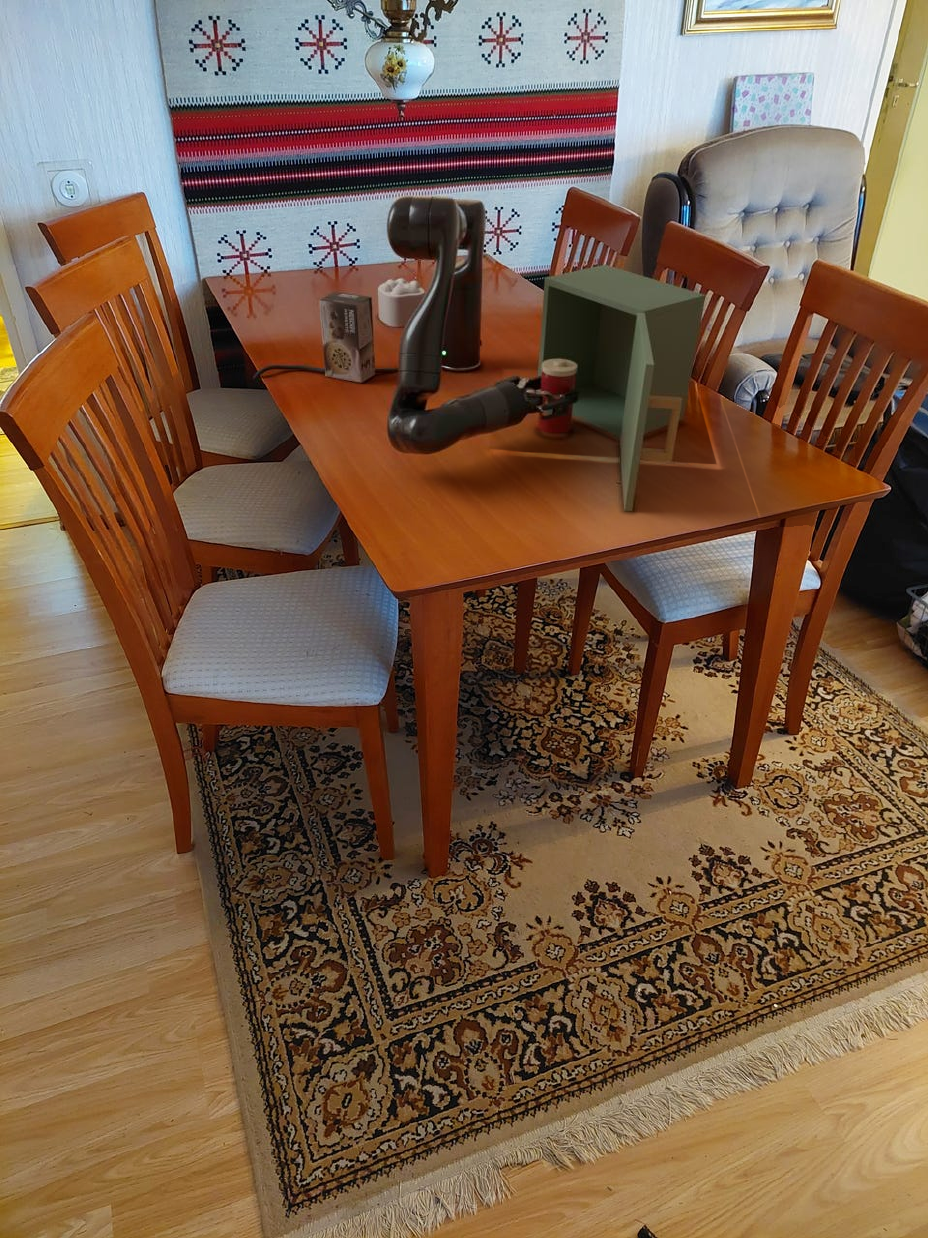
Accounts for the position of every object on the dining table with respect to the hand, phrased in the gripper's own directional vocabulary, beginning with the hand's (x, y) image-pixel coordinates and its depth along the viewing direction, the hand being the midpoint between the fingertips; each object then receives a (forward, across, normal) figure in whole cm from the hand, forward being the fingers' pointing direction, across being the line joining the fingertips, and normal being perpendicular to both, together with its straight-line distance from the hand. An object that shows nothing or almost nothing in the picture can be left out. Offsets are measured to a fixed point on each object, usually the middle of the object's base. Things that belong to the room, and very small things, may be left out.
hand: (560, 388), depth 161 cm
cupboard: (+14, 0, +8) cm, 16 cm away
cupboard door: (-2, -23, +8) cm, 24 cm away
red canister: (-1, 0, +8) cm, 9 cm away
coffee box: (-16, +47, +9) cm, 50 cm away
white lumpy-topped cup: (+15, +72, +9) cm, 74 cm away
